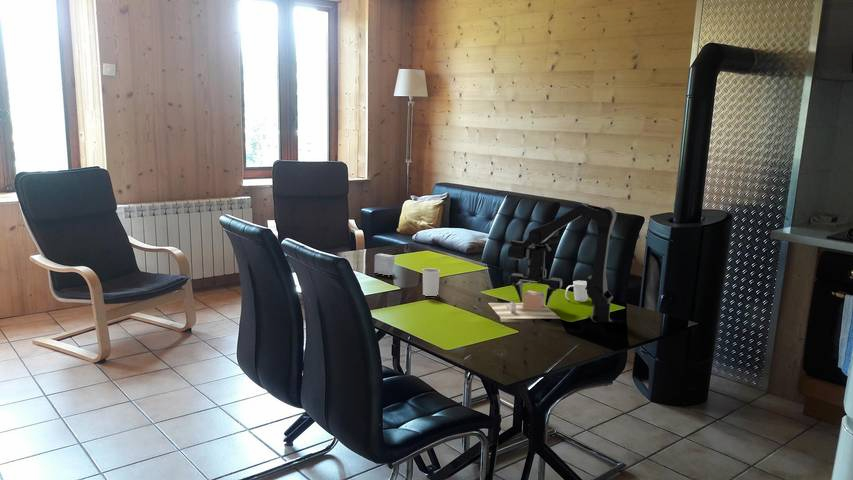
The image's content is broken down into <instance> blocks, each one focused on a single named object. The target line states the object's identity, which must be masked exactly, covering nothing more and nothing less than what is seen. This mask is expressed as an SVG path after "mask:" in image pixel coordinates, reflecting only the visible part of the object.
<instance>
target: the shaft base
mask: <svg viewBox="0 0 853 480" xmlns="http://www.w3.org/2000/svg"><path fill="white" fill-rule="evenodd" d="M487 304H488V305H489V306H490V308H492V310H493V311H494V312H495V313H496V314H497V315H498V316H497V319H498V320H499V321H500V323H519V322H520V323H521V322H524V323H527V322H528V321H527V320H521V319H561V317H560V316H559V315H558V314H557V313H555V312H554V311H553V310H552V309H550V308H549V307H548V305H547V306H546V304H544V306H543V307H542V309H541V310H538V309H531V308H524V307H523V302H514V301H510V302H487ZM518 319H519V320H518Z"/></svg>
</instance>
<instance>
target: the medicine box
mask: <svg viewBox="0 0 853 480" xmlns="http://www.w3.org/2000/svg"><path fill="white" fill-rule="evenodd" d="M395 258H396V257H395V255H392V254H385V253H376V254H374V270H373V273H378V274H383V275H382V276H384V275H388V276H387V277H390V276H389V275H392V276H394V275H395ZM378 274H377V275H378ZM393 274H394V275H393Z"/></svg>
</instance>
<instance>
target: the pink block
mask: <svg viewBox="0 0 853 480" xmlns="http://www.w3.org/2000/svg"><path fill="white" fill-rule="evenodd" d="M545 302H546V292H544V291H536V290H529V289H528V290H527V291H525V293H523V301H522V303H523V307H524V308H531V309H538V310H541V309H542V307H543V306H544V305H545Z"/></svg>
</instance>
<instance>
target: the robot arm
mask: <svg viewBox="0 0 853 480" xmlns="http://www.w3.org/2000/svg"><path fill="white" fill-rule="evenodd" d="M617 215H618V213H617V211H616V209H614V207H612V206H604V207H602V206H597V205H590V204H587V203H584V202H582V203H579V204H577V205H576V206H574V208H572V209H570V210H569V211H567V212H566V213H563V214H561V215H560V216H559V217H556V218H555V219H554V220H552V221H550V222H548V223H545V224H542V225H540V226H538V227H535V228H533V229H531V230H530V231H529V233H528V237H527V238H526V239H525V241H519V240H514V239H512V240H511V241H510V244H509V247H508V250H507V257H508V259H511V260H517V261H526V259H528V265H527V269H526V273H527V276H523V275H524V274H523V273H516V272H513V273H512V274H510V275H509V276H508V283H509V284H511V286H512V287H514V288H515V290H516V294H517V295H518V298H519V301H520V302H519V303H523V299H524V293H523V290H524V289H523V286H524V283H530V284H538V285H546V286H547V285H548V288H547V290H546V294H545V305H546V306H547V307H548V304H549V302H550V299H551V297H552V294H553V293H554V292H555V291H557V290H560V289H561V288H562V287H563V279H562V278H559V277H551V278H550V279H546V278H547V271H548V270H547V268H545V267H546V265H545V263H546V258H545V257H546V252H550V251H552V248H551V247H550V246H549V244H548V243H545V244H544V245H541V244H542V243H544V242H546V241H547V240H548V239H550V238H551V237H552V236H553V235H554V234H555V233H556V232H557V231H558V230H561V229H562V228H563V227H565V226H567V225H569V224H571V223H572V222H574V221H575V220H577V219H579V218H580V217H585V218H588V219H590V220H592V221H593V220H594V221H595V226H596V231H597V238H596V245H595V247H596V248H595V255H594V261H593V262H594V263H593V270H592V271H593V272H592V274H591V275H589V276H588V277H586V281H587V286H586V288H585V290H587V295H588V298H590V301H591V305H592V306H593V307H592V316H591V315H590V316H588V319H589V320H591V321H592V322H594V323H595V324H596V323H597V324H600V323H601V324H602V323H603V324H604V323H610V324H611V323H613V322H614V321H613V320H612V319H611V318H610V315H611V314H610V311H611V302H612V300H613V298H614V296H613V294H612V293H611V292H610V291H609V289H608V280H607V279H608V278H607V274H606V271H607V265H608V264H607V262H608V257H609V256H608V255H609V248H610V247H609V246H610V241H611V239H610V238H611V233H612V230H613V228H614V225H615V222H616V220H617ZM532 245H535V246H532Z"/></svg>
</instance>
